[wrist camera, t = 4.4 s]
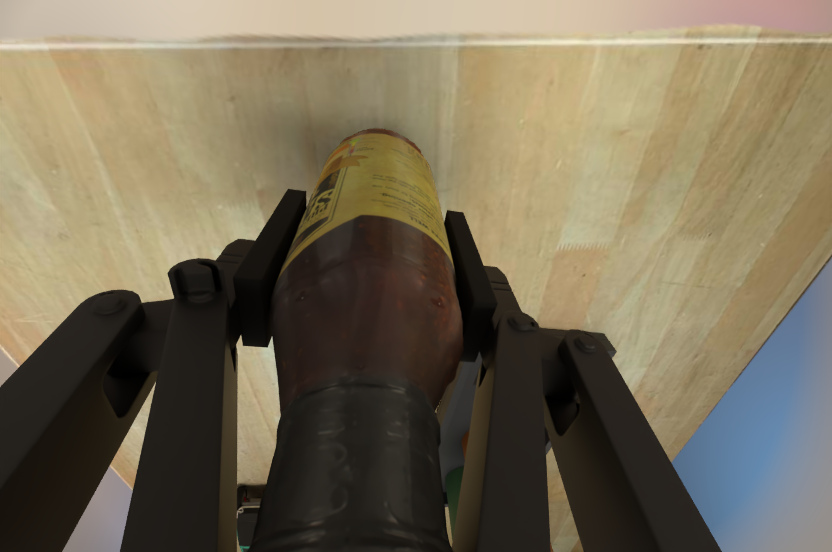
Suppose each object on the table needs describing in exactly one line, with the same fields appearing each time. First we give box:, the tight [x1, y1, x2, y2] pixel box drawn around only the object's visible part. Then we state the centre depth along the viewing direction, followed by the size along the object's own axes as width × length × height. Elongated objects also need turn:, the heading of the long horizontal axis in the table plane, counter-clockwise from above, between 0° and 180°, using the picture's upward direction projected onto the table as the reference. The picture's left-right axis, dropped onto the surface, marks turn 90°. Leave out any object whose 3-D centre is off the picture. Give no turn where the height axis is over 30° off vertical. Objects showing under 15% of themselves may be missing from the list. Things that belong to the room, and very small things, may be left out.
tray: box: [436, 328, 617, 507], centre depth 40 cm, size 31×14×2 cm, turn 170°
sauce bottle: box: [247, 128, 464, 552], centre depth 13 cm, size 7×6×20 cm
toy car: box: [237, 487, 261, 552], centre depth 47 cm, size 6×12×5 cm, turn 173°
